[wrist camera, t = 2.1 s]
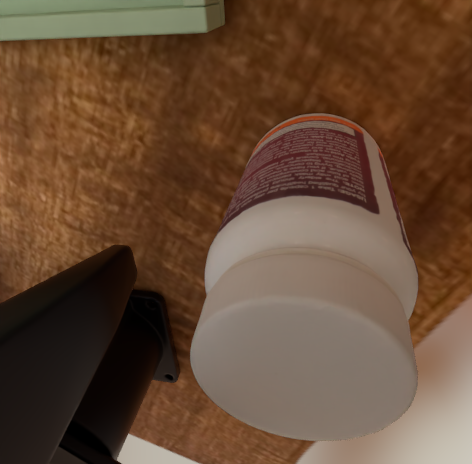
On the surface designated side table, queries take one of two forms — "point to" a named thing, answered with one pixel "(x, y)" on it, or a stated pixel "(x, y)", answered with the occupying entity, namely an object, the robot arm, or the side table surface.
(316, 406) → the pill bottle
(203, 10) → the sage tray
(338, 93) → the side table surface
